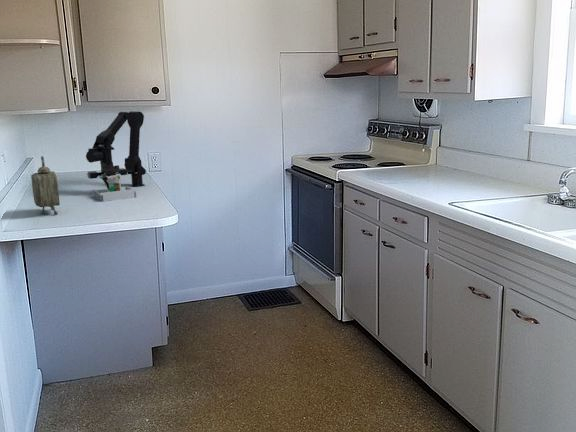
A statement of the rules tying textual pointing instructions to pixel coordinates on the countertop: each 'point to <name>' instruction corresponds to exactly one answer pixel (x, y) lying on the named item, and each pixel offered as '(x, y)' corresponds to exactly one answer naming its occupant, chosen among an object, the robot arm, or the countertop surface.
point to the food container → (114, 183)
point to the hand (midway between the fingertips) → (109, 190)
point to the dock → (115, 194)
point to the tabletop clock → (45, 188)
